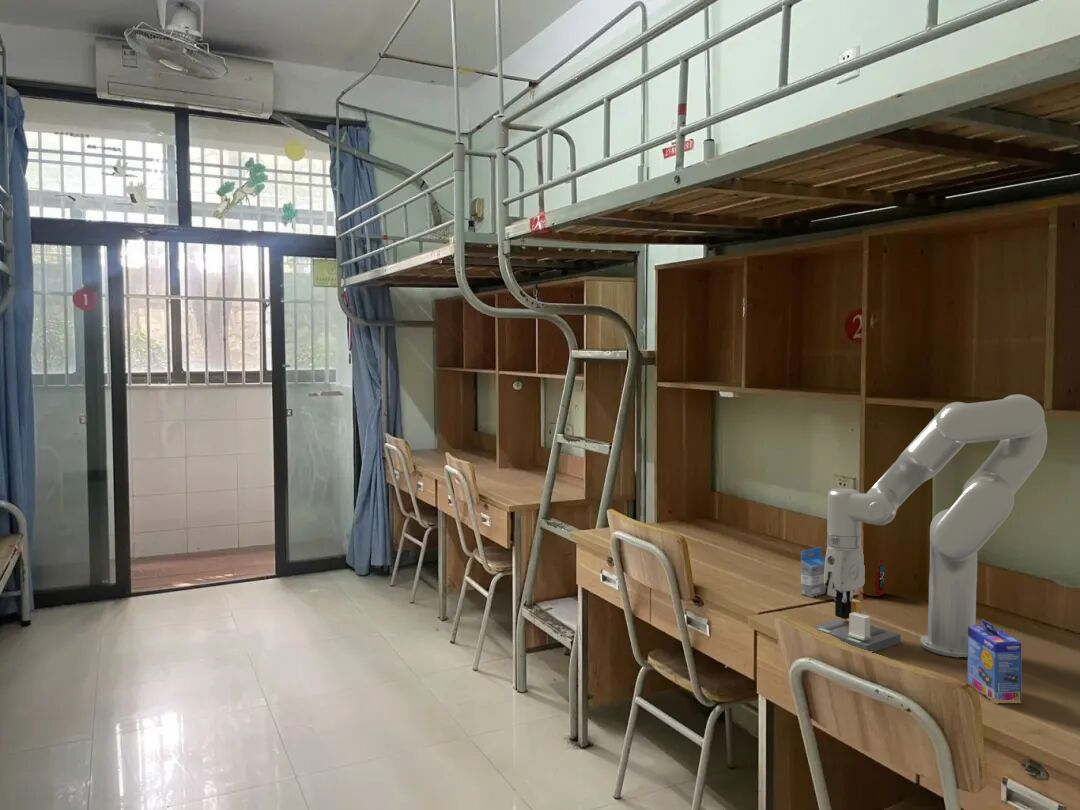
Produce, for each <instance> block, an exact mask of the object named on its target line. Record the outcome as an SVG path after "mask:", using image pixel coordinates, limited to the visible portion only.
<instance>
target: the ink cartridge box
mask: <svg viewBox="0 0 1080 810" xmlns="http://www.w3.org/2000/svg"><path fill="white" fill-rule="evenodd" d="M981 621H982V623H983V625H981V624H980V625H976V624H975V625H974V626H968V658H967V683H968V682H969V683H970V684H972V685H973V686H975V688H977V689H978V690H979V691H982V692H983V693H985V694H987V695H988V696H990V697H992V698H994V699H999V700H1000V699H1001V700H1010V699H1011V700H1012V699H1014V700H1021V701H1022V642H1021V641H1020V640H1019V639H1018V638H1015V637H1014V636H1012V635H1010V634H1009V633H1006V632H1003V630H1002V629H1000V628H998V627H996V626H994V624H992V623H989V622H988V621H986V620H984V619H983V618H981Z"/></svg>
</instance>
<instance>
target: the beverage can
mask: <svg viewBox="0 0 1080 810" xmlns="http://www.w3.org/2000/svg"><path fill="white" fill-rule="evenodd" d="M882 562H884V559H881V560H880V563H882ZM880 566H881V565H880ZM883 568H884V567H883V566H881V569H880V567H879V570H880V571H879V570H878V572H877V573H876V575H875V576H877V577H876V581H875V582H874V583H875V584H874V585H876V586H875V587H876V595H881V596H882V595H884V594H885V590H884V589H883V588H884V584H883V583H884V578H883V576H884V572H883V570H882V569H883ZM877 574H878V575H877Z"/></svg>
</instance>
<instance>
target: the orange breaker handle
mask: <svg viewBox="0 0 1080 810" xmlns="http://www.w3.org/2000/svg"><path fill="white" fill-rule="evenodd" d="M850 602H851V613H853V612H856V613H860V614H862V601H861V600H858V599H854V598H853V600H852V601H850ZM839 618H840V617H839ZM840 619H841V620H845V621H848V622H849V618H848V619H843V618H840Z"/></svg>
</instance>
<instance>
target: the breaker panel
mask: <svg viewBox="0 0 1080 810" xmlns="http://www.w3.org/2000/svg"><path fill="white" fill-rule="evenodd" d="M811 627H813V628H815V629H817V630H819V631H822V632H824V633H827V634H830V635H832V636H834V637H836V638H838V639H840V640H841V641H843V642H846V643H848V644H850V645H852V646H855V647H858V648H861V649H864V650H868V651H873V652H872V653H874V652H878V651H881V650H884V649H887V648H890V647H892V646H895V645H898V644H900V643H901V639H902V638H901V635H902V634H901V633H898V632H896V631H893V630H888V629H885V628H883V627H878V626H875V625H872V624H870V636H871V638H870V639H867V640H864V641H863V640H860V639H857V638H854V637H851V636H848V633H849V622H848V621H845V620H841V619H840V617H838V618H836V619H833V620H832V619H831V620H829V621H826V622H823V623H819V624H818V623H817V624H816V625H811Z"/></svg>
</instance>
